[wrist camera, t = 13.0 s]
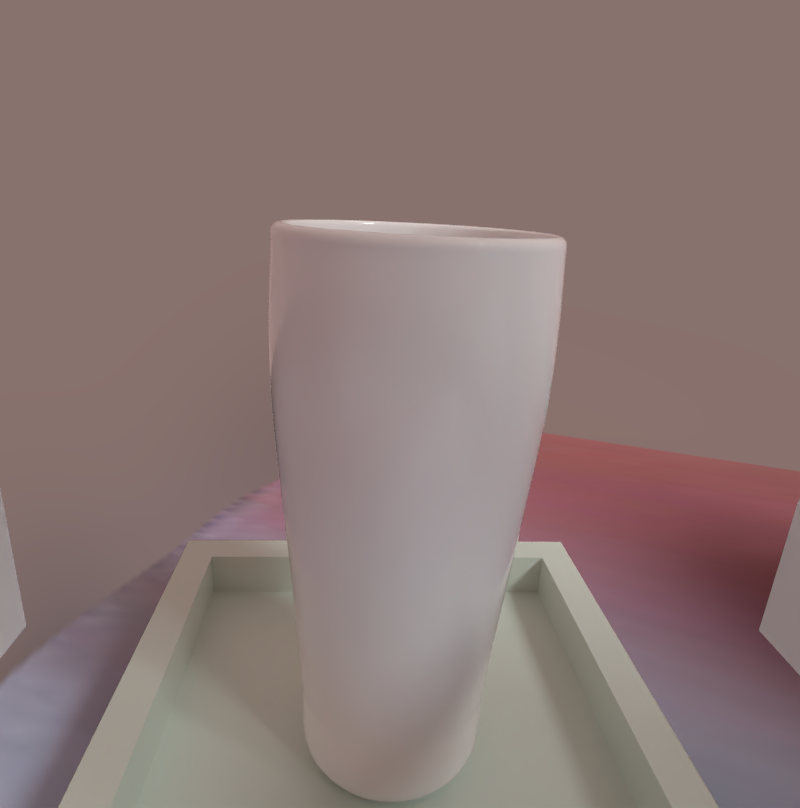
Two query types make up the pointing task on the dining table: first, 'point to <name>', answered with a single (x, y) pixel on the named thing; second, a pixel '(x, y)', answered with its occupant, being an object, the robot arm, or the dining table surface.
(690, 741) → the dining table surface
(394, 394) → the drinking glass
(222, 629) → the tray
